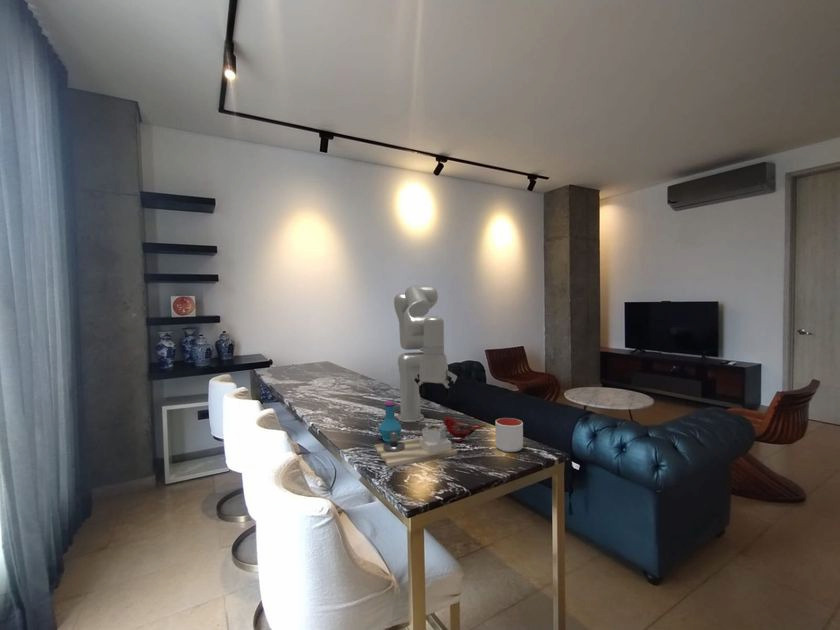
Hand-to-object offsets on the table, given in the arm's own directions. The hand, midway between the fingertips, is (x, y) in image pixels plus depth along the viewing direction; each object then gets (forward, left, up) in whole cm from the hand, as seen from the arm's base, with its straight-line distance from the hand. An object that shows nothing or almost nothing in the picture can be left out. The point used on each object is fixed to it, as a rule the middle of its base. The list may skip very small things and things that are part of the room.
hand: (434, 397), depth 140 cm
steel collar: (0, 0, -16) cm, 16 cm away
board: (-3, -7, -20) cm, 22 cm away
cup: (+8, +27, -21) cm, 35 cm away
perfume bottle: (-20, -11, -21) cm, 31 cm away
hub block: (0, 0, -19) cm, 19 cm away
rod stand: (-6, -14, -19) cm, 24 cm away
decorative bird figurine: (-5, +15, -21) cm, 26 cm away
